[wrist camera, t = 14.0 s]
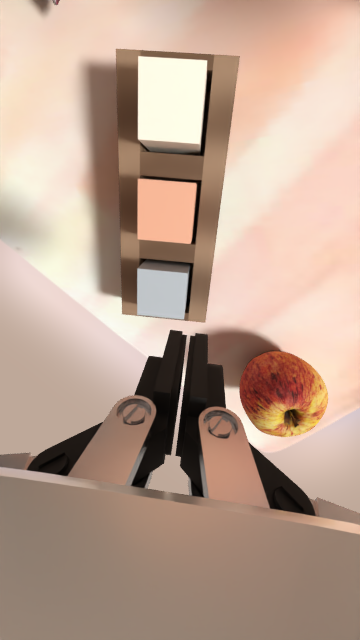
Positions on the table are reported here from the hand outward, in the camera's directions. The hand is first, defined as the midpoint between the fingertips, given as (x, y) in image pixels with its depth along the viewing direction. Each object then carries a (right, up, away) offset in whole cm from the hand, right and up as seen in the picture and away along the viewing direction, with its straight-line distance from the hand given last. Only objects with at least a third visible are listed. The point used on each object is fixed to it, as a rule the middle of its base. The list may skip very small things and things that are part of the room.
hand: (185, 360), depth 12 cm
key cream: (-1, +19, +10) cm, 22 cm away
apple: (+12, -4, +23) cm, 26 cm away
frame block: (-1, +13, +15) cm, 20 cm away
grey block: (-2, +6, +16) cm, 18 cm away
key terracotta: (-1, +13, +13) cm, 18 cm away
